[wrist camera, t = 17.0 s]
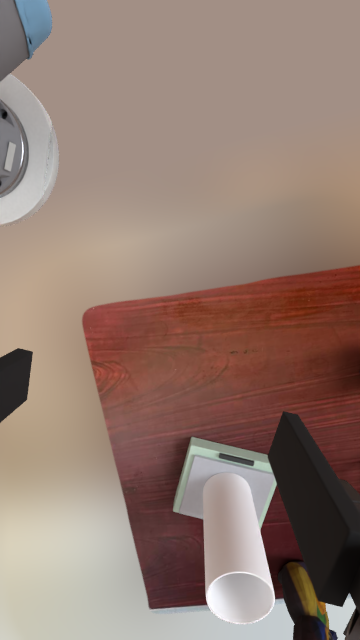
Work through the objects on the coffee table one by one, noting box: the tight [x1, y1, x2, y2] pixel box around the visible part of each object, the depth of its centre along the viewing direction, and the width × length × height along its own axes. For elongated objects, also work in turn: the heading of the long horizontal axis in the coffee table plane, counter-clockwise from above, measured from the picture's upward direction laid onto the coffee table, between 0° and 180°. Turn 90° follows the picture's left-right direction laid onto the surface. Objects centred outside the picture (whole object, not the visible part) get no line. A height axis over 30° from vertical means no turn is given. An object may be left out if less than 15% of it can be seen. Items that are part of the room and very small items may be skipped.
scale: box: [173, 437, 277, 529], centre depth 52 cm, size 16×14×3 cm
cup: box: [203, 472, 275, 624], centre depth 43 cm, size 8×8×16 cm
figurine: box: [278, 561, 337, 640], centre depth 50 cm, size 10×7×15 cm
